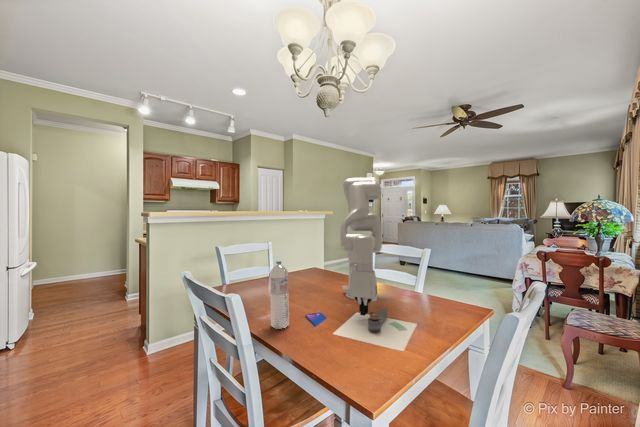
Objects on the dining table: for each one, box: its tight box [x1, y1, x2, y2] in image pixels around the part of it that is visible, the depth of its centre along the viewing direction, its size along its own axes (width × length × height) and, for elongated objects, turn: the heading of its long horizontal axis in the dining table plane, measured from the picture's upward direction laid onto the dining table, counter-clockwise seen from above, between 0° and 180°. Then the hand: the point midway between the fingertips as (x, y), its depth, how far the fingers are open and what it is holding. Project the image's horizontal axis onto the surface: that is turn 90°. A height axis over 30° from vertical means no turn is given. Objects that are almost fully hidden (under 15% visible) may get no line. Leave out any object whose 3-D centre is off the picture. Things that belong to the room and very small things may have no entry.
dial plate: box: [332, 312, 418, 352], centre depth 96 cm, size 24×22×2 cm
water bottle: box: [269, 260, 290, 330], centre depth 103 cm, size 7×7×25 cm
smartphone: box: [304, 312, 327, 328], centre depth 107 cm, size 7×1×15 cm
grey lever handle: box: [368, 307, 388, 333], centre depth 99 cm, size 15×4×6 cm, turn 150°
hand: (363, 314), depth 105 cm, fingers closed
